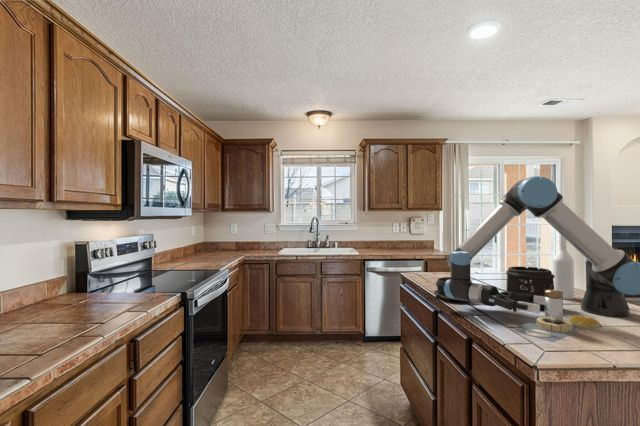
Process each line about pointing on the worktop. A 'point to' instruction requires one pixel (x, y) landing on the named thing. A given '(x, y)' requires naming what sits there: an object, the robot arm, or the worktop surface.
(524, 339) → the worktop surface
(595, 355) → the worktop surface
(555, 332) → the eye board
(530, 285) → the labelled black crock
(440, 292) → the casserole
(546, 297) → the jar with brown lid
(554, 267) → the bottle
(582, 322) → the bread roll
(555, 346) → the worktop surface
